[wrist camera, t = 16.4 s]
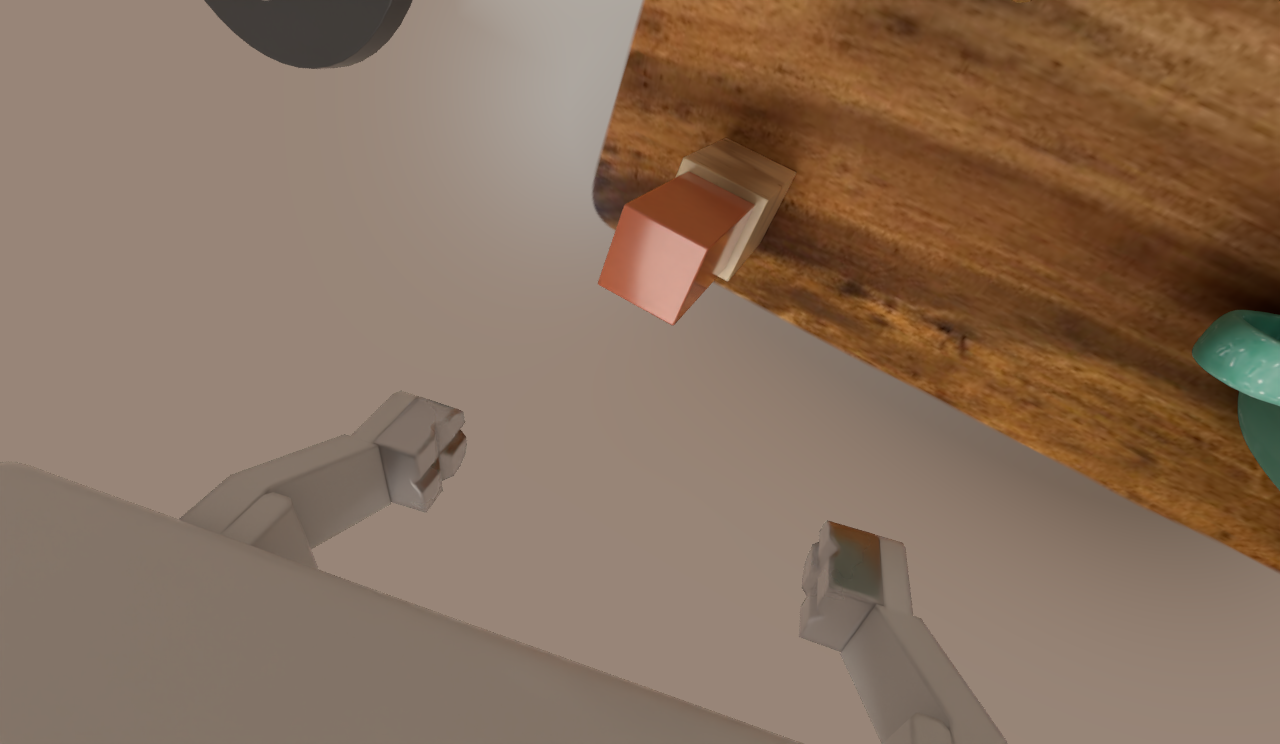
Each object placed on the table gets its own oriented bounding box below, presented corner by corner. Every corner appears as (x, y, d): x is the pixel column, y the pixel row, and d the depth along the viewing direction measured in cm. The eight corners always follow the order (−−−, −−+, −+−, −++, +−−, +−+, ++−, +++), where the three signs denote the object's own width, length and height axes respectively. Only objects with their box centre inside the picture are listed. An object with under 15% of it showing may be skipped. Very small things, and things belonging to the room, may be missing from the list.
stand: (695, 209, 39) (650, 241, 33) (725, 137, 36) (683, 156, 30) (760, 242, 38) (727, 282, 32) (796, 172, 35) (769, 199, 29)
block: (661, 237, 32) (596, 284, 26) (687, 170, 30) (623, 203, 24) (723, 270, 32) (673, 327, 25) (755, 204, 29) (709, 248, 23)
